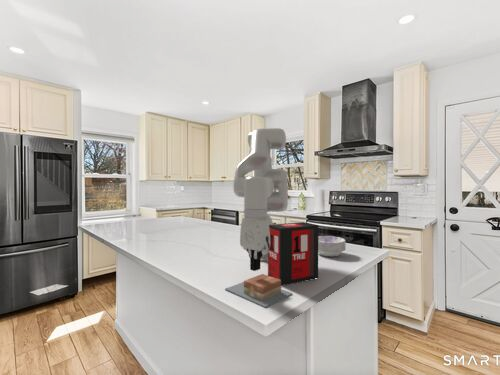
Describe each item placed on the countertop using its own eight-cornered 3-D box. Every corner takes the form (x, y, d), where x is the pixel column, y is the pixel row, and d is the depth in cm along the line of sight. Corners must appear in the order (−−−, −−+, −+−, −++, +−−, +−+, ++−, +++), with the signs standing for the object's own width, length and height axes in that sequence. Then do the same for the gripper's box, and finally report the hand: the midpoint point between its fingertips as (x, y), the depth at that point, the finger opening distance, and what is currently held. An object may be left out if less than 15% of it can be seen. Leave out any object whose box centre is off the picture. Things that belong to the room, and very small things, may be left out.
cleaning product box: (303, 271, 107) (303, 222, 106) (318, 278, 99) (318, 225, 98) (267, 277, 100) (268, 224, 99) (280, 285, 92) (280, 228, 91)
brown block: (243, 280, 84) (262, 287, 79) (262, 273, 91) (281, 279, 85) (243, 293, 84) (262, 301, 79) (262, 285, 91) (280, 292, 85)
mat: (225, 289, 88) (225, 288, 88) (252, 279, 97) (252, 278, 97) (265, 308, 75) (265, 306, 75) (292, 294, 84) (292, 293, 84)
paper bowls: (313, 257, 127) (313, 241, 127) (313, 249, 141) (313, 235, 141) (347, 259, 123) (347, 242, 123) (343, 251, 138) (343, 236, 138)
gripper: (231, 213, 89) (231, 267, 89) (264, 217, 79) (264, 278, 79) (247, 211, 94) (247, 262, 95) (280, 215, 84) (280, 272, 84)
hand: (255, 269), depth 87 cm, fingers closed
